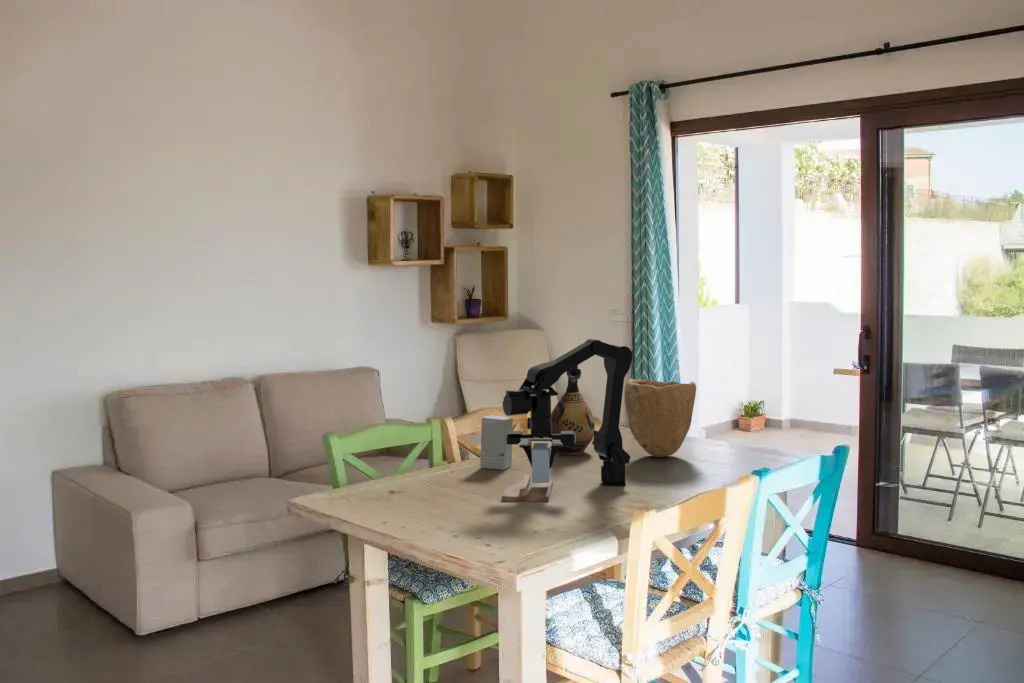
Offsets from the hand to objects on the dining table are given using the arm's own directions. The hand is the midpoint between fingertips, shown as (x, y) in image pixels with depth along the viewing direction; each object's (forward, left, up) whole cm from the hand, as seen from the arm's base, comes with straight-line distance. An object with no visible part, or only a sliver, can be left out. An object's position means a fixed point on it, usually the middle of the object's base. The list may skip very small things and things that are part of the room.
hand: (541, 468), depth 270 cm
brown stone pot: (-35, -47, -7) cm, 59 cm away
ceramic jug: (-6, -54, -7) cm, 55 cm away
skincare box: (+16, -31, -7) cm, 36 cm away
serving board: (+4, 0, -7) cm, 8 cm away
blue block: (0, 0, -3) cm, 3 cm away
